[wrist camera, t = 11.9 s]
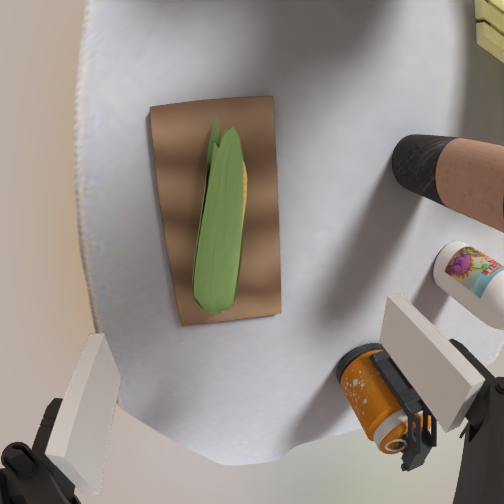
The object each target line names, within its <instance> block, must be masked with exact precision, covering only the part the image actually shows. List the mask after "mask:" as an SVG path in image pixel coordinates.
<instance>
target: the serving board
mask: <svg viewBox="0 0 504 504" xmlns="http://www.w3.org/2000/svg"><path fill="white" fill-rule="evenodd" d="M216 115H217V118H218V132H219V143H220V139H221V135H222V133H223V132H224V130H225V129H226V128H227V130H228V131H229V130H230V129H231V128H232V127H234V129H235V130H236V132H237V134H238V135H239V137H240V144H241V149H242V151H243V153H244V163H245V167H246V172H247V177H248V179H247V199H246V206H245V214H244V235H243V249H242V260H241V269H240V277H239V283H238V289H237V294H236V298H235V301H234V304H233V307H232V308H230V309H228V310H224V311H221V313H220V314H219V315H212V314H210V312H209V311H205V310H204V309H203V308H201V307H200V306H199V304H198V303H197V301H196V300H195V298H194V296H193V282H192V277H193V267H194V258H195V251H196V244H197V237H198V230H199V224H200V216H201V209H202V201H203V194H204V187H205V180H206V170H207V157H208V146H209V142H210V137H211V132H212V128H213V123H214V120H215V117H216ZM150 117H151V129H152V139H153V149H154V159H155V168H156V176H157V184H158V192H159V200H160V207H161V214H162V221H163V227H164V234H165V240H166V246H167V252H168V258H169V264H170V269H171V275H172V280H173V286H174V291H175V296H176V301H177V306H178V311H179V316H180V321H181V325H182V326H184V325H194V324H203V323H212V322H220V321H229V320H237V319H244V318H252V317H259V316H266V315H273V314H280V313H281V270H280V237H279V210H278V186H277V164H276V145H275V127H274V110H273V96H259V97H238V98H223V99H211V100H200V101H191V102H182V103H174V104H167V105H160V106H153V107H150Z"/></svg>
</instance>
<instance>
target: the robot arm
mask: <svg viewBox="0 0 504 504" xmlns="http://www.w3.org/2000/svg"><path fill="white" fill-rule="evenodd" d="M379 342H380V343H381V344H382V346H383V347H384V348H385V349H386V351H387V352H388V353H389V355H390V356H391V357H392V359H393V360H394V361H395V363H396V364H397V365H398V367H399V368H400V370H401V371H402V372H403V374H404V375H405V376H406V378H407V379H408V380H409V382H410V383H411V384H412V386H413V387H414V389H415V390H416V391H417V393H418V394H419V395H420V397H421V398H422V400H423V401H424V402H425V404H426V405H427V407H428V408H429V409H430V411H431V412H432V414H433V415H434V417H435V418H436V419H437V421H438V422H439V424H440V425H441V426H442V428H443V429H444V431H445V432H446V433H447V432H449V431H451V430H453V429H455V428H457V427H458V426H460V424H461V422H462V421H463V419H464V417H466V418H467V420H468V421H469V422H468V423H467V425H466V427H465V428H464V430H463V431H462V433H461V434H460V438H462V437H463V435H464V434H465V441H464V448H463V455H462V461H461V467H460V472H459V477H458V482H457V488H456V492H455V496H454V500H453V504H504V377H496V378H495V377H494V376H493V375H492V374H491V373H490V372H489V371H488V370H487V369H486V368H485V367H484V366H483V365H482V364H481V363H480V362H479V361H478V360H477V359H476V358H474V355H473V354H472V353H471V352H470V353H469V350H468V349H467V348H466V347H465V346H464V345H463V344H461V343H459V342H458V341H456V340H454V339H450V340H448V339H447V338H446V337H445V336H444V335H443V334H442V333H441V332H440V331H439V330H438V329H437V328H436V327H435V326H434V325H433V324H431V323H430V322H429V321H428V320H427V319H426V318H425V317H424V316H423V315H422V314H421V313H420V312H419V311H418V310H417V309H416V308H415V307H414V306H413V305H412V304H411V303H410V302H409V301H408V300H407V299H406V298H405V297H403V296H402V295H401V294H395V295H391V296H387V302H386V308H385V314H384V320H383V325H382V330H381V335H380V340H379ZM121 379H122V377H121V375H120V372H119V370H118V367H117V365H116V362H115V360H114V357H113V355H112V352H111V350H110V347H109V344H108V342H107V339H106V336H105V333H98V334H89V337H88V339H87V341H86V343H85V346H84V348H83V350H82V353H81V355H80V357H79V360H78V362H77V365H76V367H75V370H74V372H73V375H72V377H71V380H70V382H69V385H68V388H67V390H66V393H65V395H64V398H63V399H61V398H54V399H53V400H52V402H51V403H50V404H49V405H48V406H47V408H46V411H45V413H44V416H43V419H42V421H41V424H40V427H39V429H38V432H37V435H36V438H35V441H34V444H33V447H32V450H31V449H30V448H29V447H28V445H26V444H24V443H23V442H14V443H11V444H10V445H8V446H7V447H6V448H5V449H4V451H3V452H2V456H1V462H2V465H3V466H5V468H2V469H0V504H81V502H80V501H79V500H78V498H77V496H75V494H74V489H75V486H76V487H77V488H78V489H79V490H80V491H81V492H82V493H87V494H95V495H100V493H101V486H102V478H103V471H104V465H105V459H106V453H107V447H108V442H109V436H110V431H111V425H112V420H113V416H114V411H115V406H116V401H117V397H118V392H119V388H120V383H121Z"/></svg>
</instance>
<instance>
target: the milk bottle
mask: <svg viewBox="0 0 504 504" xmlns="http://www.w3.org/2000/svg"><path fill="white" fill-rule="evenodd" d="M433 276H434V280H435V282H436V284H437V285H438V286H439V287H440V288H441V289H442V290H444V291H445V292H446V293H447V294H449V295H450V296H451V297H452V298H454V299H455V300H456V301H457V302H459V303H460V304H461V305H462V306H464V307H465V308H466V309H467V310H469V311H470V312H471V313H472V314H473V315H475V316H476V317H477V318H479V319H480V320H481V321H482V322H484V323H485V324H487V325H489V326H491V327H493V328H496V329H501V330H504V266H502V265H501V264H499V263H498V262H496V261H494V260H493V259H491V258H489V257H488V256H486V255H484V254H483V253H481V252H479V251H478V250H476V249H474V248H472V247H471V246H469V245H467V244H465V243H463V242H460V241H454V242H451V243H449V244H448V245H446V246H445V247H444V248H443V249H442V250H441V252H440V253H439V255H438V256H437V258H436V261H435V264H434V269H433Z"/></svg>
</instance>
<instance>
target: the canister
mask: <svg viewBox="0 0 504 504" xmlns="http://www.w3.org/2000/svg"><path fill="white" fill-rule="evenodd" d="M337 379H338V381H339V383H340V385H341V387H342V389H343V391H344V392H345V394H346V396H347V398H348V400H349V402H350V404H351V406H352V408H353V410H354V412H355V414H356V416H357V418H358V419H359V421H360V423H361V425H362V427H363V429H364V431H365V433H366V435H367V437H368V439H369V440H371V441H375V443H376V445H377V447H378V449H379V450H380V451H382V452H383V453H386V454H395V453H398V452H402V453H404V454H403V456H402V460H403V462H404V463H403V464H402V465H401V468H402V471H405V470H407V471H410V470H412V469H415V468H417V467H419V466H421V465H423V463H424V462H425V461H424V460H425V458H426V457H427V455H428V453H429V452H430V450H431V448H432V447H436V446H437V444H436V441H437V439H436V438H437V419H436V418H435V417H434V415H433V414H432V412H431V411H430V409H429V408H428V407H427V405H426V404H425V402H424V401H423V400H422V398H421V397H420V395H419V394H418V393H417V391H416V390H415V389H414V387H413V386H412V384H411V383H410V382H409V380H408V379H407V378H406V376H405V375H404V374H403V372H402V371H401V370H400V368H399V367H398V365H397V364H396V363H395V361H394V360H393V359H392V357H391V356H390V355H389V353H388V352H387V351H386V349H385V348H384V347H383V346H382V344H379V343H369V344H365V345H362V346H360V347H358V348H356V349H355V350H353V351H352V352H350V353H349V354H348V355H347V356H346V357H345V358H344V359H343V360H342V362H341V363H340V365H339V367H338V370H337ZM430 426H431V434H430V432H429V429H430Z"/></svg>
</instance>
